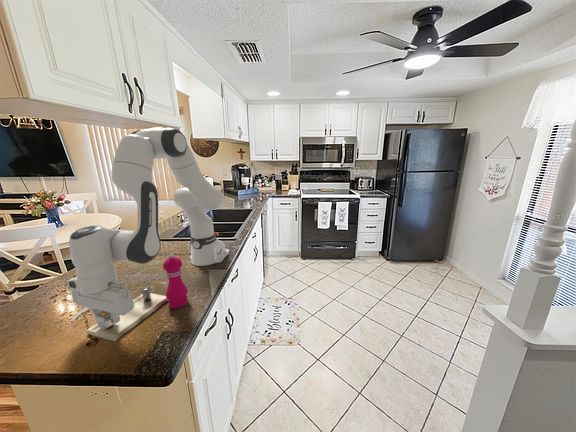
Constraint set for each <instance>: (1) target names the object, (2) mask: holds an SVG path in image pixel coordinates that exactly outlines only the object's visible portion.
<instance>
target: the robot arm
mask: <svg viewBox="0 0 576 432" xmlns="http://www.w3.org/2000/svg"><path fill="white" fill-rule="evenodd" d="M156 159H158V160H159V159H161V160H162V159H166V160H167V164H168V166H169V167H170V169H171V171H172V174H173V176H174V177H175V180H176V182H177V183H178V184H180V186H183V187H181V188H177V190H175V192H174V194H173V201H174V203H175V205H176V206H177V207H179V208H180V209H181V211H182V212H183V213H184V214H185V216H186V218H187V221H188V224H189V229H190V243H191V245H190V256H189V259H190V263H191V265H192V266H197V267H204V266H210V265H213V264H219V263H221V262H223V260H224V259H225V258H226V257H227V256H228V254H229V253H230V252H229V251H230V249H229V248H226V245H225V243H224V241H221V240H219V239H217V237H219V236H220V235H219V234H220V232H215V230H214V221H213V219H212V218H211V217H210V216H209V215H207V213H206V212H205V210H206V211H212V210H218V209H220V208H222V206H223V204H224V202H225V201H224V200H225V198H224V194H223V192H222V191H221V190H220V189H219V188H216V186H214V185H212V183H210V182H209V181H208V180H207V179H206V178H205V176H204V175H203V173H202V171H201V169H200V167H199V164H198V162H197V159H196V157H195V155H194V153H193V152H192V150H191V148H190V146H189V145H188V141H187V138H186V135H185V134H183V132H182V131H181V130H179V129H177V128H174V127H166V128H165V127H151V128H147V129H137V130H134V131H132V132H131V133H130V134H126V135H124V136H123V137H122V138H121V139H120V141H119V144H118V145H117V148H116V151H115V154H114V158H113V162H112V166H111V167H112V168H111V181H112V183H113V184H114V186H116V187H117V188H118V190H120V191H122V192H123V193H125V194H127V195H128V196H131V197H132V198H133V199H134V201H135V202H136V204H137V205H136V206H137V220H136V221H137V224H136V230H129V229H118V228H117V229H116V228H115V229H114V228H107V227H103V226H102V225H98V224H97V225H89V226H84V227H81V228H78V229H77V230H75V231H74V232H72V233H71V234H70V236H69V239H68V248H69V254H70V258H71V262H72V263H71V264H73V266H74V267H75V270H76V271H75V277H73V278H70V279H68V280H67V281H66V283H67V287H68V288H70V289H69V290H70V294H71V296H72V300H73V302H74V303H75V304H76V306H80V307H83V308H86V307H88V308H90V312H91V313H92V314H93V315H94V318H95V319H96V316H97V315H99V314H100V313H101V312H102V311H105V312H109V313H111V314H112V315H113V317H112V318H110V320H111V323H114V324H116V323H118V322H119V321H120V315H125V314H127V313H128V312H130V311H131V310H133V308H134V302H133V300H134V299H133V297H132V293H131V291H130V290H129V289H128V287H126V286H124V284H122V283H118V282H119V280H118V279H119V278H118V275H117V270H116V265H115V262H117V261H127V262H128V261H129V262H132V263H137V264H148V263H149V262H151V261H153V259H155V258H156V257H157V256H158V254H159V252H160V251H161V244H162V243H161V239H160V238H161V237H160V231H159V193H158V189H157V187H156V185H155V184H154V183H153V170H154V169H153V167H154V160H156Z"/></svg>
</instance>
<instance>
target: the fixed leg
mask: <svg viewBox="0 0 576 432" xmlns="http://www.w3.org/2000/svg"><path fill="white" fill-rule="evenodd" d="M151 290H152V288H151V286H144V287H142V288H141V289H140V293H141V295H142V294H143V299H144V300H146V301H148V300H149V299H150V298H151V294H150V293H151Z"/></svg>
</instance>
